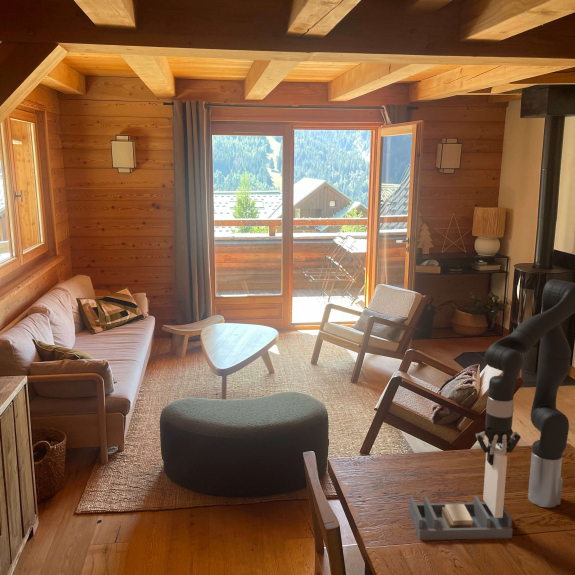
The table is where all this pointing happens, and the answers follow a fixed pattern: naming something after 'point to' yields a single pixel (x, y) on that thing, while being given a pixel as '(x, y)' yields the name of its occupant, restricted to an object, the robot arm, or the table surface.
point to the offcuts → (456, 516)
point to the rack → (435, 528)
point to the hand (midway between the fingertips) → (495, 463)
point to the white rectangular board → (495, 482)
